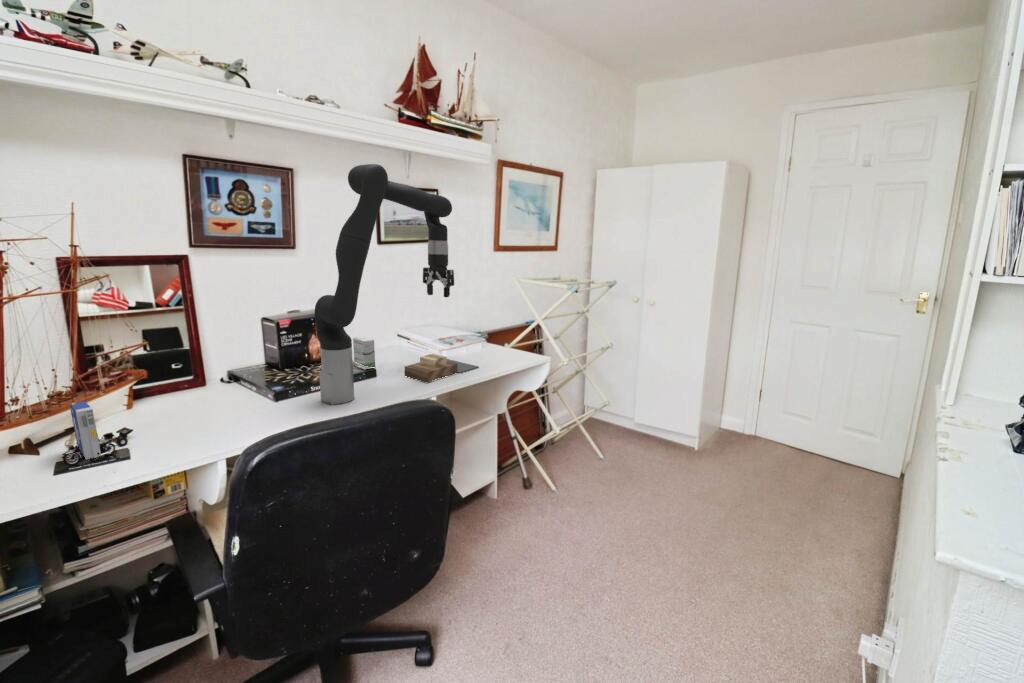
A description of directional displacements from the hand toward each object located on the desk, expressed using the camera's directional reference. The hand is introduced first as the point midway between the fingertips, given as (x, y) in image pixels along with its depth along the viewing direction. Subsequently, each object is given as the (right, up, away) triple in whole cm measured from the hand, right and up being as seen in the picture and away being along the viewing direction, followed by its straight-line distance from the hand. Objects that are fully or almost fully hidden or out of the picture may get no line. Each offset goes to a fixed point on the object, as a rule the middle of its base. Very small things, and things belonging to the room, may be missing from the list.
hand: (438, 296), depth 181 cm
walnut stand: (-2, -30, -1) cm, 30 cm away
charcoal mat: (+4, -28, +11) cm, 30 cm away
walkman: (-72, -44, -69) cm, 109 cm away
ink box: (-30, -28, +7) cm, 42 cm away
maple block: (-2, -26, -1) cm, 26 cm away
